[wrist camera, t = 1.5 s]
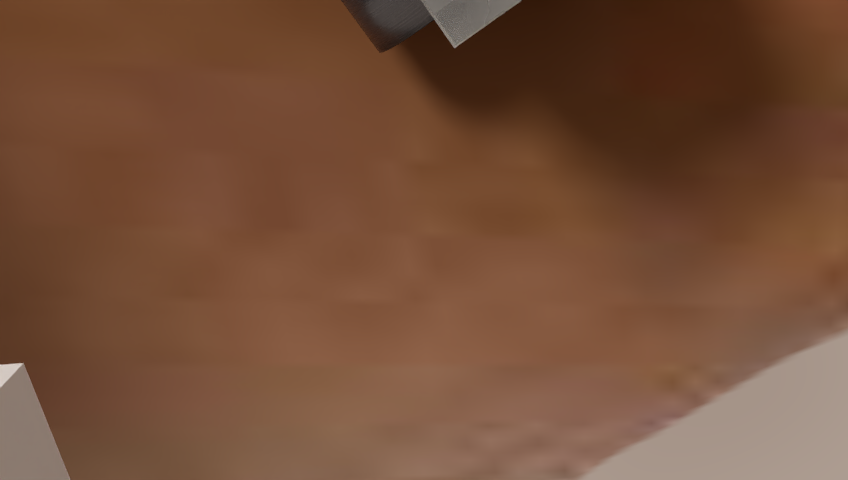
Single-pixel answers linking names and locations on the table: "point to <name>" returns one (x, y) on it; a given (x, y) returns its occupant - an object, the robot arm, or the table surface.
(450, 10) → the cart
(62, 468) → the robot arm
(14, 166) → the table surface
